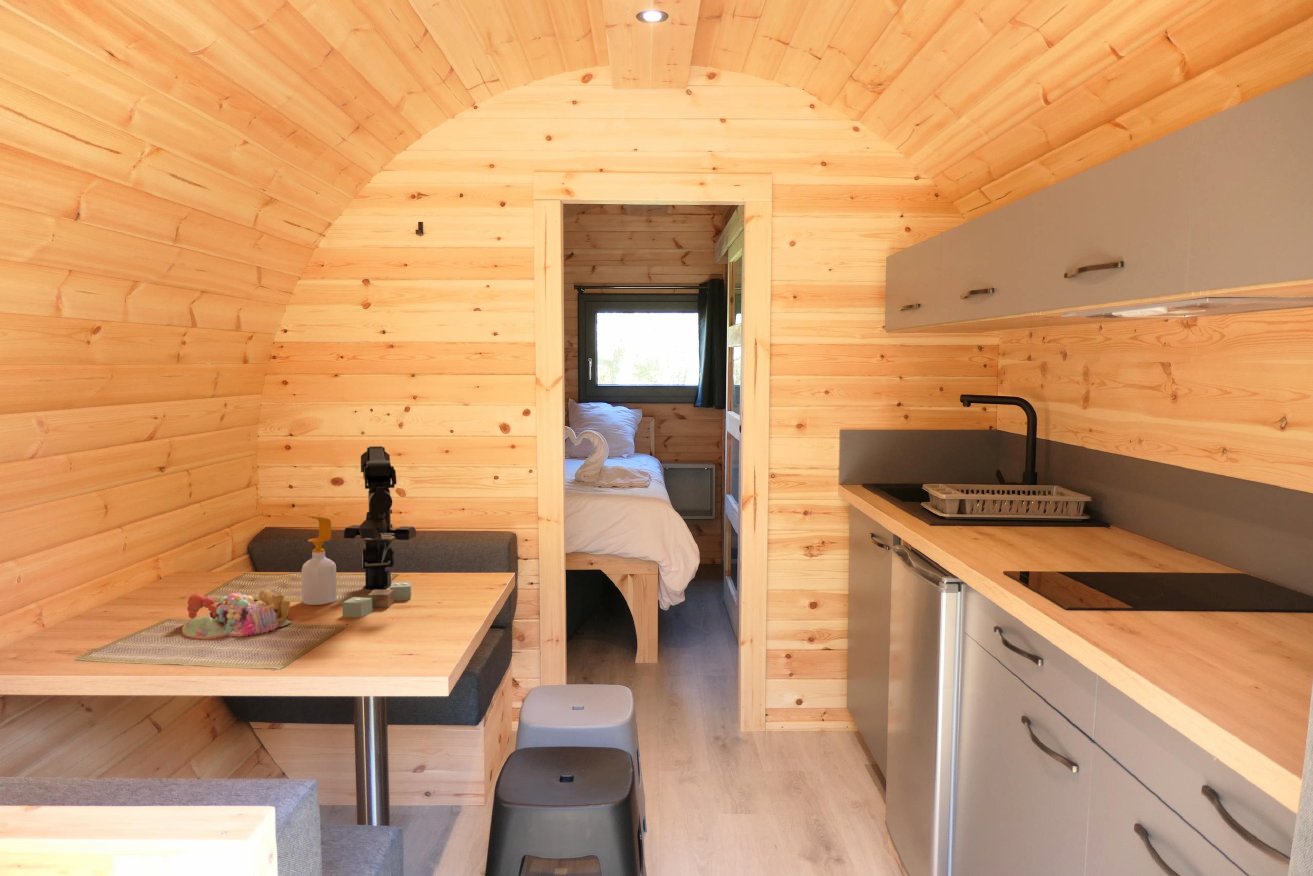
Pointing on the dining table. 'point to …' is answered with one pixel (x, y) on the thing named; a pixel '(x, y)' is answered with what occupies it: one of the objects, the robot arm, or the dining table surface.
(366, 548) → the robot arm
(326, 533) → the soap bottle
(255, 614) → the colorful coral reef ornament
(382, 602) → the walnut block
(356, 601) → the grey-green block
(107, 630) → the dining table surface
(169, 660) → the dining table surface
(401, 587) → the dotted block two
